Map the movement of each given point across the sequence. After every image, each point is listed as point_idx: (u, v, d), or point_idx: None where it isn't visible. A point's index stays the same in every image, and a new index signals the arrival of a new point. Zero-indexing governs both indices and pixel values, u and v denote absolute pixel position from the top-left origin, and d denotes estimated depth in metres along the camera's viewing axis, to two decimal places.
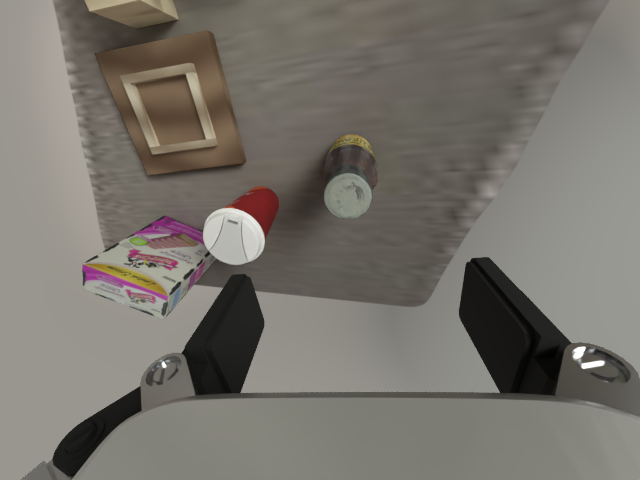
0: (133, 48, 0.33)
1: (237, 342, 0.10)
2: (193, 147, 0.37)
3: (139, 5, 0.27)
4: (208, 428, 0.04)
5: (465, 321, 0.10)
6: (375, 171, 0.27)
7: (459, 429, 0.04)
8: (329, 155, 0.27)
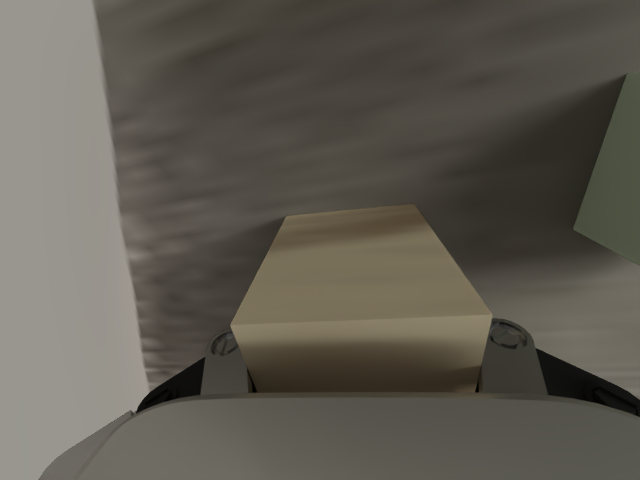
0: None
1: None
2: None
3: None
4: (208, 428, 0.04)
5: None
6: None
7: (460, 428, 0.04)
8: None
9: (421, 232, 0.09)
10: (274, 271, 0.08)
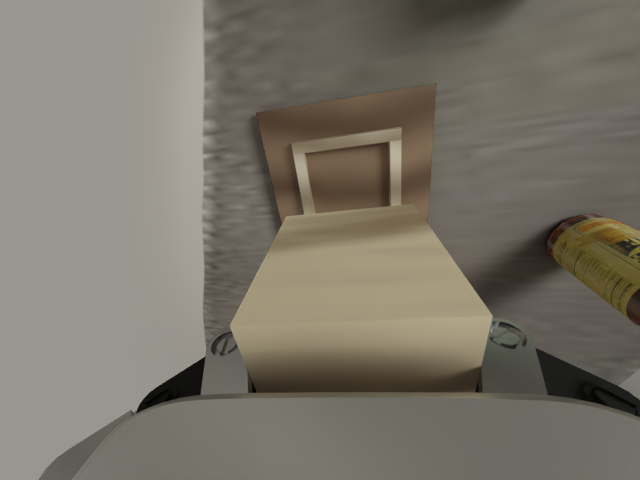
0: (315, 106, 0.23)
1: None
2: None
3: None
4: (208, 428, 0.04)
5: None
6: None
7: (459, 429, 0.04)
8: None
9: (421, 232, 0.09)
10: (274, 272, 0.08)
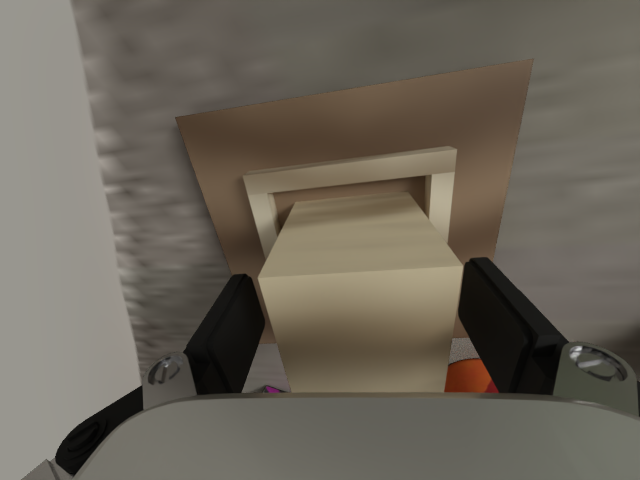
0: (287, 106, 0.12)
1: (238, 341, 0.10)
2: None
3: None
4: (208, 428, 0.04)
5: (464, 321, 0.11)
6: None
7: (459, 428, 0.04)
8: None
9: (412, 212, 0.11)
10: (289, 242, 0.10)
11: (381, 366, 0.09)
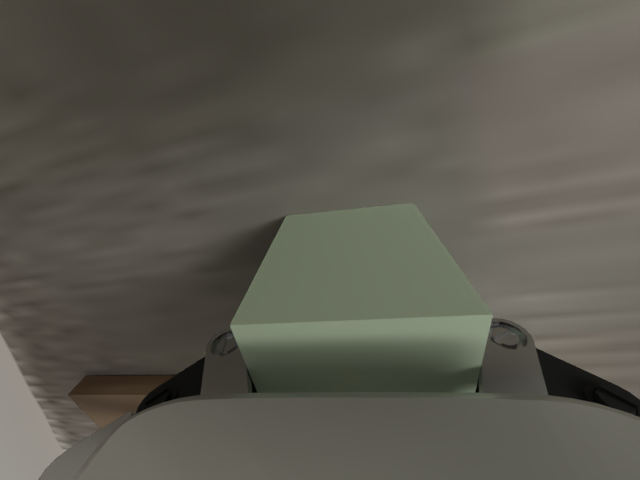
0: (136, 397, 0.18)
1: None
2: None
3: None
4: (208, 428, 0.04)
5: None
6: None
7: (460, 428, 0.04)
8: None
9: None
10: None
11: None
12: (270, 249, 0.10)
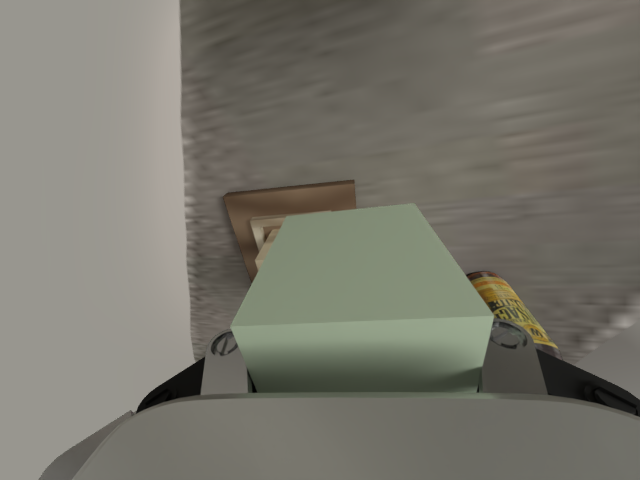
0: (267, 194, 0.30)
1: None
2: None
3: None
4: (208, 428, 0.04)
5: None
6: None
7: (459, 428, 0.04)
8: None
9: None
10: (266, 249, 0.29)
11: None
12: (270, 250, 0.09)
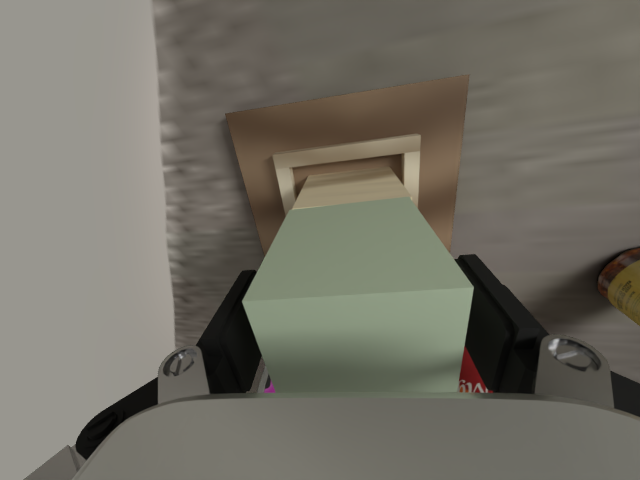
0: (304, 105, 0.17)
1: (248, 336, 0.10)
2: None
3: None
4: (208, 428, 0.04)
5: None
6: None
7: (460, 428, 0.04)
8: None
9: (390, 177, 0.16)
10: (308, 194, 0.15)
11: None
12: (275, 239, 0.10)
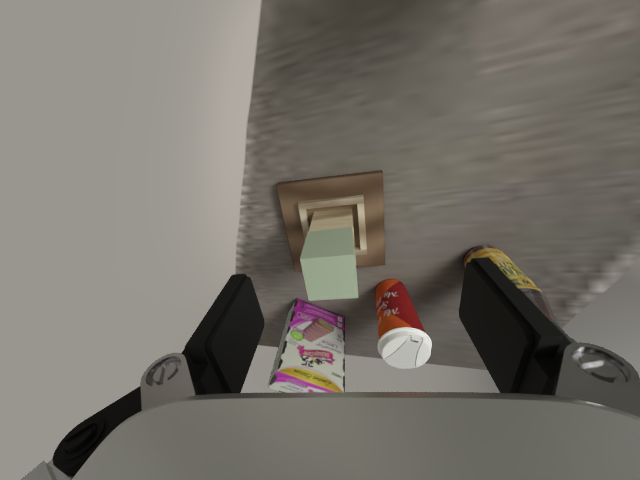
0: (312, 182, 0.38)
1: (237, 342, 0.10)
2: None
3: None
4: (208, 428, 0.04)
5: (465, 321, 0.10)
6: None
7: (460, 428, 0.04)
8: None
9: (349, 215, 0.37)
10: (314, 224, 0.36)
11: None
12: (305, 243, 0.32)
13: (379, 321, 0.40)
